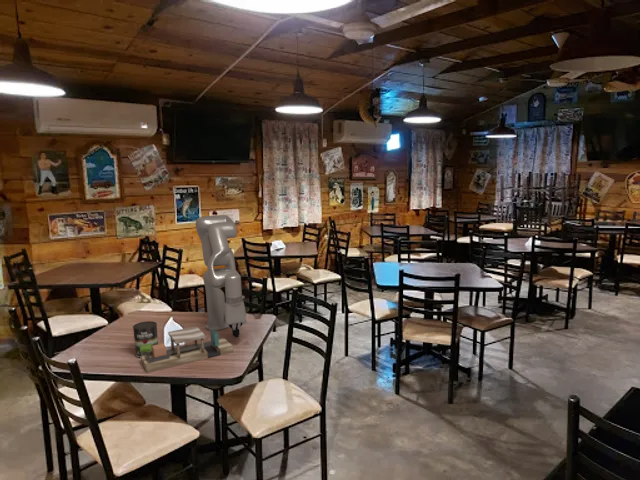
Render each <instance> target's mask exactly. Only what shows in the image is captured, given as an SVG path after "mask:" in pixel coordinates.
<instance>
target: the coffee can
mask: <svg viewBox="0 0 640 480" xmlns="http://www.w3.org/2000/svg"><path fill="white" fill-rule="evenodd" d="M157 326H158V324H157V321H152V320H151V321H150V320H148V321H141V322H137V323H136V324H134V325H133V326H132V329H133V339H134V349H135V356H137V357H136V358H138V357H140V358H139V359H141V356H142V355H145V353H146V352H151V351H152V346H153V345H158V344H159V339H158V327H157Z"/></svg>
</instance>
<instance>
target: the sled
mask: <svg viewBox="0 0 640 480" xmlns="http://www.w3.org/2000/svg"><path fill="white" fill-rule="evenodd" d="M209 331H210V332H209V333H210V340H209V341H206V342H205V341H204V347H207V346H212V345H214V346H219V337H220V336H219V331H218V330H209ZM191 345H192V344H191ZM186 346H187V347H183V346H181V347H182V348H180V353H181V352H185V351H189V350H194V349H198V348H201V343H200V344H196V345H192V346H188V345H186ZM168 350H169V349H168ZM166 353H167V355H163V356H159V357H154V358H150V357H149V356H151V355H153V354H152V351H151V352H146V353H145V356H146V358H147V360H148V362H149V363H150V362H155V361H159V360H163V359H168V358H170V357H169V355H172V354H176V353H177V349H173V350H169V351H166Z"/></svg>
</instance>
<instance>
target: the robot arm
mask: <svg viewBox="0 0 640 480" xmlns="http://www.w3.org/2000/svg"><path fill="white" fill-rule="evenodd" d="M236 225H237V224H236V223H235V222H234V220H233V219H232V218H231V217H230V216H229V215H227V214H220V215H219V214H217V215H207V216H201V217H198V218H197V219H196V221H195V228H196V229H195V230H196V233H197V235H198V237H199V240H200V242H201V248H202V249H201V250H202V256H203V263H204V265H205V267H207V268H206V269H207V270H206V271H204V273H203V274H202V278H203V279H202V280H203V284H204V289H205V296H206V311H207V313H206V314H207V323H206V324H205V329H206V330H209V331H210V330H216V331H220V330H221V331H222V330H224V329H227V328H230V329H232V330H231V332H232V333H231V334H232V336H233V337H234V338H235V339H237V338H240V329H241V327H242V325H245V324H246V323H247V313H246V307H245V306H246V305H245V303H244V299H245V297H246V296H245V295H243V293H242V277H241V275H240V274H239V272H238V271H237V270H236V269H237V268H236V260H235V255H234V252H233V250H232V248H230V246H229V245H230V244H229V241H228V239H233V238H236V237H237V235H238V227H237V226H236ZM221 266H225V267H221ZM214 267H221V268H214ZM221 288H224V291H225V293H224V291H223V290H222V289H221Z"/></svg>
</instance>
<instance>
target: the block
mask: <svg viewBox="0 0 640 480" xmlns="http://www.w3.org/2000/svg"><path fill="white" fill-rule="evenodd" d="M166 350H167V346H166V345H165V343H164V342H163V343H158V345H153V346H152V354H153V358H154V357H159V356H163V355H167V353H166Z"/></svg>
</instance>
